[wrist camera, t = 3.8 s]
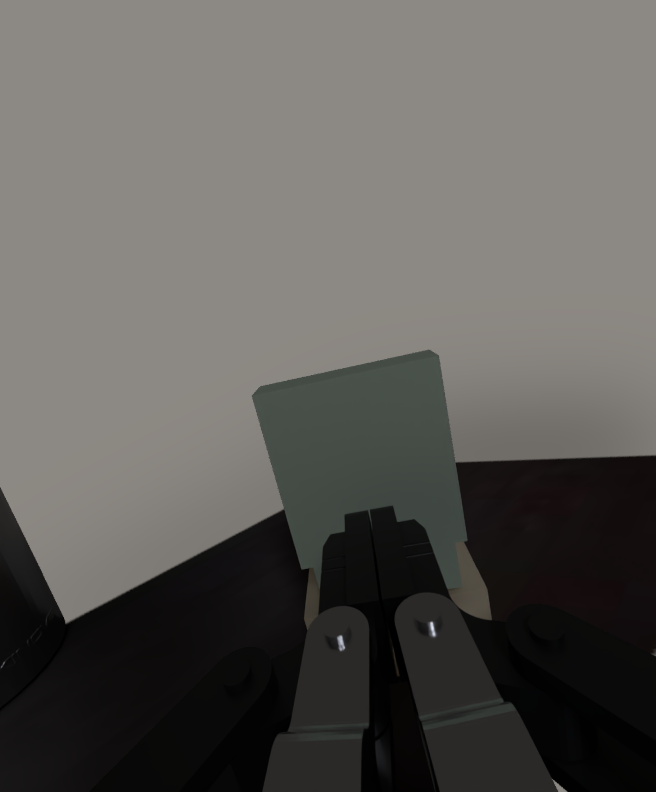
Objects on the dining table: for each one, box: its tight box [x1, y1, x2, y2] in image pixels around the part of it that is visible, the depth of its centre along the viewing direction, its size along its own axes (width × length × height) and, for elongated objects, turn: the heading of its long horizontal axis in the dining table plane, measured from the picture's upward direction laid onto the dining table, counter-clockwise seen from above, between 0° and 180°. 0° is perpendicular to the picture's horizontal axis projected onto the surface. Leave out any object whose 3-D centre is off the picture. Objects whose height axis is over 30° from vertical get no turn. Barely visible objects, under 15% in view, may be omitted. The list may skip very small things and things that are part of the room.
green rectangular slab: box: [252, 350, 467, 591], centre depth 16 cm, size 7×2×10 cm, turn 88°
